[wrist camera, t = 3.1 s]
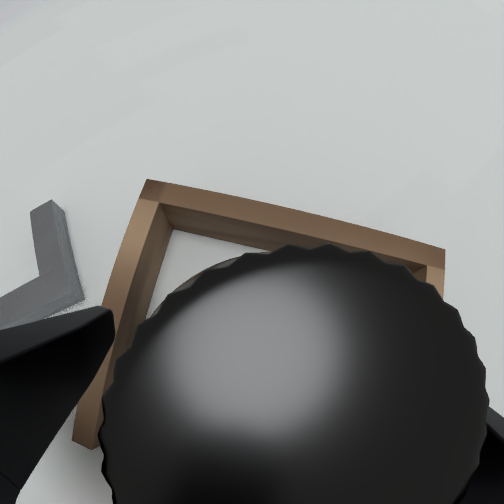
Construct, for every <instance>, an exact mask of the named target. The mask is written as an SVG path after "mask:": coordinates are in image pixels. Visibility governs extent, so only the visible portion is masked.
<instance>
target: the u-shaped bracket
mask: <svg viewBox="0 0 504 504" xmlns="http://www.w3.org/2000/svg"><path fill="white" fill-rule="evenodd" d="M173 229H177V230H181V231H185V232H190V233H194V234H198V235H203V236H207V237H212V238H216V239H220V240H225V241H229V242H233V243H238V244H242V245H246V246H251V247H255V248H259V249H264V250H268V251H272V252H273V251H275V250H276V249H278V248H280V247H282V246H284V245H287V244H292V245H297V246H301V247H305V248H308V249H312V248H315V247H318V246H321V245H325V244H329V243H331V244H333V245H336V246H338V247H341V248H342V249H343V250H346V251H348V252H356V251H371V252H372V253H374V254H375V255H377V256H378V257H379V258H380V259H381V260H383V261H384V262H386V263H396V264H402V265H405V266H406V267H407V268H408V269H409V270H410V271H411V272H412V274H413V275H414V276H415V277H416V278H417V279H418V280H421V281H425V282H427V283H430V284H432V285H434V286H435V288H436V289H437V291H438V292H439V294H440V295H441V297H442V299H443V292H444V275H445V249H442V248H438V247H435V246H432V245H428V244H425V243H421V242H418V241H414V240H411V239H407V238H404V237H400V236H396V235H393V234H389V233H385V232H382V231H378V230H374V229H371V228H367V227H363V226H359V225H355V224H351V223H348V222H344V221H340V220H336V219H332V218H328V217H324V216H320V215H316V214H311V213H307V212H303V211H299V210H295V209H290V208H286V207H282V206H277V205H273V204H269V203H264V202H260V201H255V200H250V199H246V198H241V197H237V196H232V195H227V194H222V193H217V192H213V191H208V190H203V189H198V188H192V187H187V186H182V185H177V184H172V183H166V182H161V181H155V180H150V179H146V182H145V184H144V187H143V189H142V191H141V194H140V196H139V199H138V201H137V204H136V206H135V209H134V211H133V214H132V217H131V219H130V222H129V225H128V227H127V230H126V233H125V235H124V238H123V241H122V244H121V247H120V249H119V252H118V255H117V258H116V261H115V264H114V267H113V270H112V273H111V276H110V279H109V283H108V286H107V289H106V292H105V296H104V299H103V302H102V306H103V307H105V308H108V309H111V310H112V311H113V314H114V323H115V331H116V335H115V340H114V342H113V344H112V346H111V348H110V350H109V352H108V354H107V355H106V357H105V359H104V361H103V363H102V365H101V367H100V368H99V370H98V372H97V374H96V376H95V378H94V379H93V381H92V383H91V384H90V386H89V387H88V389H87V390H86V392H85V393H84V394H83V396H82V397H81V399H80V400H79V402H78V406H77V411H76V417H75V423H74V429H73V436H72V441H74V442H76V443H78V444H80V445H82V446H84V447H86V448H88V449H91V450H93V449H95V448H96V447H98V446H100V443H99V440H98V436H97V434H98V431H99V428H100V426H101V425H102V423H103V420H104V415H103V409H102V396H103V394H104V393H105V391H106V390H107V389H108V387H109V386H110V385H111V384H112V382H113V370H114V364H115V360H116V359H117V358H118V357H119V356H120V355H121V354H122V353H123V352H125V351H126V350H127V349H128V348H129V347H130V346H131V343H132V339H133V336H134V333H135V330H136V328H137V325H138V324H140V323H142V322H143V321H145V318H146V314H147V311H148V307H149V304H150V300H151V297H152V293H153V290H154V287H155V283H156V280H157V277H158V273H159V270H160V267H161V264H162V261H163V257H164V254H165V251H166V248H167V245H168V242H169V239H170V236H171V233H172V230H173Z"/></svg>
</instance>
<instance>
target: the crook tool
mask: <svg viewBox="0 0 504 504" xmlns="http://www.w3.org/2000/svg"><path fill="white" fill-rule="evenodd" d="M30 217H31V226H32V233H33V240H34V247H35V253H36V259H37V264H38V270H39V275H40V276H39V277H37V278H35V279H33V280H32V281H30V282H28V283H26V284H24V285H22V286H20V287H19V288H17V289H15V290H13V291H11V292H10V293H8V294H6V295H4V296H2V297H1V298H0V330H1V329H6V328H10V327H14V326H18V325H22V324H26V323H30V322H35V321H39V320H42V319H44V318H47V317H49V316H51V315H53V314H55V313H57V312H59V311H61V310H64V309H66V308H68V307H70V306H72V305H74V304H76V303H79V302H81V301H83V300H85V298H84V294H83V291H82V287H81V284H80V280H79V276H78V272H77V268H76V264H75V260H74V256H73V252H72V247H71V243H70V238H69V234H68V229H67V224H66V218H65V213H64V211H63V210H62V209H61V208H60V207H59V206H58V205H57V204H56V203H55V202H54V201H53V200H52V199H51V200H50V201H48V202H46V203H44V204H43V205H41V206H39V207H37V208H36V209H34V210H32V211H31V212H30Z"/></svg>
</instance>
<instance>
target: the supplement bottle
mask: <svg viewBox="0 0 504 504" xmlns="http://www.w3.org/2000/svg"><path fill="white" fill-rule="evenodd" d="M485 380H486V368H485V366H484V365H483V363H482V361H481V360H480V359H479V357H478V354H477V345H476V341H475V337H474V336H473V335H472V334H471V333H470V332H469V331H468V330H467V329H465V328H464V326H463V323H462V320H461V317H460V315H459V312H458V310H457V309H456V308H454V307H453V306H451V305H449V304H448V303H446V302H444V301H443V299H442V297H441V295H440V294H439V292H438V291H437V289H436V288H435V286H434V285H432V284H430V283H427V282H425V281H421V280H418V279H417V278H416V277H415V276H414V275H413V274H412V272H411V271H410V270H409V269H408V268H407V267H406V266H405V265H402V264H396V263H386V262H384V261H383V260H381V259H380V258H379V257H378V256H377V255H375V254H374V253H372V252H371V251H356V252H348V251H346V250H343V249H342V248H341V247H338V246H336V245H333V244H331V243H329V244H325V245H321V246H318V247H315V248H312V249H308V248H305V247H301V246H297V245H292V244H287V245H284V246H282V247H280V248H278V249H276V250H275V251H273V252H261V253H245V254H243V255H242V256H240V257H236V258H232V259H229V260H226V261H223V262H221V263H218V264H216V265H213V266H211V267H209V268H207V269H205V270H203V271H201V272H200V273H198V274H196V275H195V276H193V277H191V278H190V279H188V280H187V281H186V282H184V283H183V284H182V285H180V286H179V287H178V288H176V289H175V290H174V291H173V292H172V293H170V294H168V295H167V297H166V298H165V300H164V301H163V302H162V303H161V304H160V305H159V306H158V307H157V309H156V310H155V311H154V313H153V314H152V315H151V317H150V318H148V319H146V320H145V321H143V322H142V323H140V324H138V325H137V328H136V330H135V333H134V336H133V339H132V343H131V346H130V347H129V348H128V349H127V350H126V351H125V352H123V353H122V354H121V355H120V356H119V357H118V358H117V359H116V360H115V364H114V370H113V382H112V384H111V385H110V386H109V387H108V389H107V390H106V391H105V393H104V394H103V396H102V409H103V415H104V420H103V423H102V425H101V426H100V428H99V431H98V434H97V436H98V440H99V443H100V446H101V449H102V451H103V454H104V459H103V462H102V469H101V472H102V474H103V476H104V478H105V479H106V481H107V483H108V484H109V486H110V487H111V489H112V501H113V504H459V503H460V501H461V500H462V499H463V498H464V496H465V495H466V492H467V489H468V485H469V482H470V480H471V478H472V477H473V475H474V473H475V472H476V470H477V468H478V466H479V463H480V452H481V448H482V446H483V444H484V441H485V439H486V436H487V424H486V416H487V412H488V407H489V397H488V394H487V392H486V389H485Z"/></svg>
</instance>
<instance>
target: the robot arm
mask: <svg viewBox="0 0 504 504" xmlns="http://www.w3.org/2000/svg"><path fill="white" fill-rule="evenodd" d="M115 335H116V331H115V323H114V314H113V311H112V310H111V309H108V308H105V307H103V306H95V307H91V308H87V309H83V310H79V311H75V312H71V313H67V314H63V315H59V316H55V317H51V318H47V319H43V320H39V321H35V322H30V323H26V324H22V325H18V326H14V327H10V328H6V329H1V330H0V504H15V503H16V499H17V497H18V495H19V493H20V490H21V489H22V488H23V486H24V484H25V483H26V481H27V480H28V478H29V476H30V475H31V473H32V472H33V470H34V468H35V467H36V465H37V464H38V462H39V460H40V459H41V457H42V456H43V454H44V453H45V451H46V450H47V448H48V446H49V445H50V443H51V442H52V440H53V439H54V437H55V436H56V434H57V433H58V431H59V430H60V428H61V427H62V425H63V424H64V422H65V421H66V419H67V418H68V416H69V415H70V413H71V412H72V410H73V409H74V407H75V406H76V405H77V403H78V402H79V400H80V399H81V397H82V396H83V394H84V393H85V392H86V390H87V389H88V387H89V386H90V384H91V383H92V381H93V379H94V378H95V376H96V374H97V372H98V370H99V368H100V367H101V365H102V363H103V361H104V359H105V357H106V355H107V354H108V352H109V350H110V348H111V346H112V344H113V342H114V340H115ZM486 424H487V436H486V439H485V441H484V444H483V446H482V448H481V452H480V463H479V466H478V468H477V470H476V472H475V473H474V475H473V477H472V478H471V480H470V482H469V485H468V489H467V492H466V495H465V496H464V498H463V499H462V500H461V501H460V503H459V504H504V417H502V416H501V415H500V414H498V413H497V412H496V411H494V410H493V409H492V408H490V407H488V412H487V416H486Z"/></svg>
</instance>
